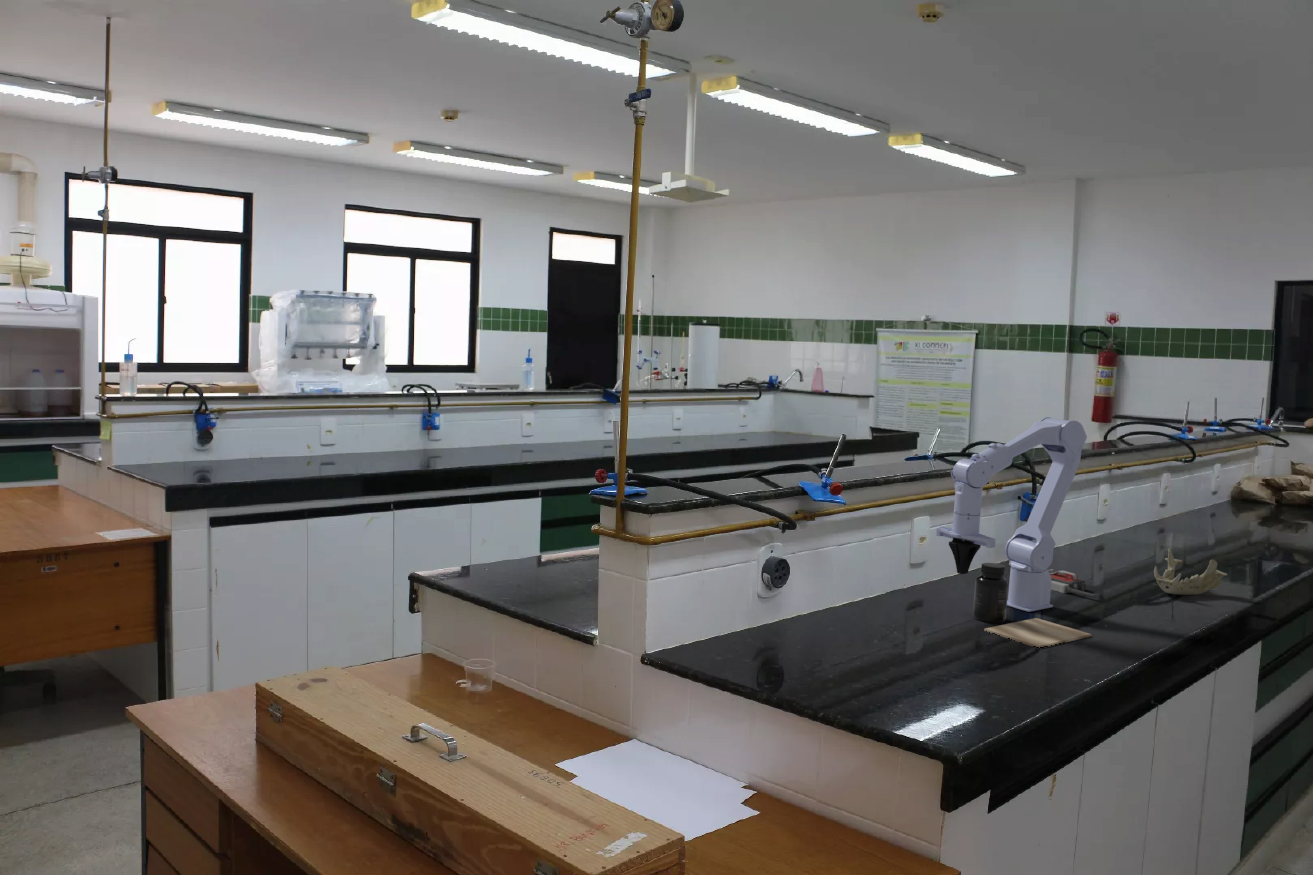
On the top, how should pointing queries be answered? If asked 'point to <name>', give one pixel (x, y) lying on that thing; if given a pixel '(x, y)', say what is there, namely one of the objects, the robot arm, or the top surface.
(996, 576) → the supplement bottle
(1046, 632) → the tan paper sheet
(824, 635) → the top surface
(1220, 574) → the mandible
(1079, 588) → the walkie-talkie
